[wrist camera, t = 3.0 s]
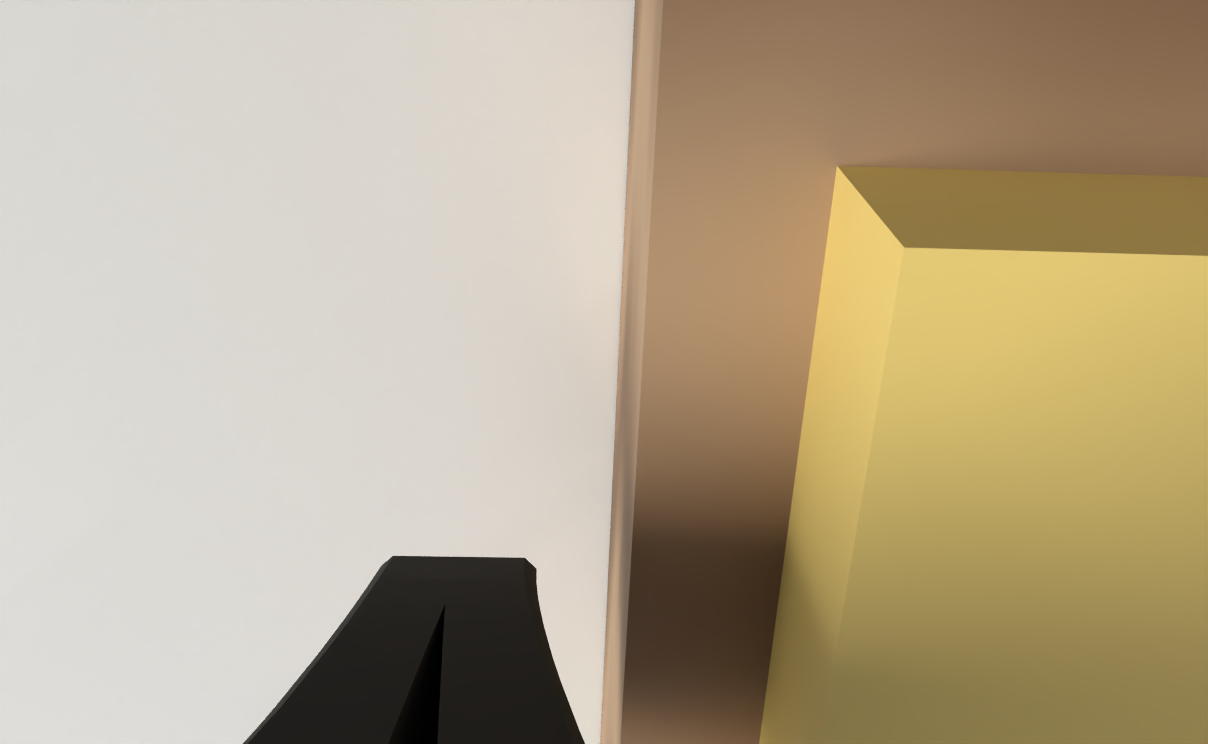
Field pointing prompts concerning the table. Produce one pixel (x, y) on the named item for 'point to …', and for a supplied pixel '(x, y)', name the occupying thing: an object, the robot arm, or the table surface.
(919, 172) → the flat yellow block
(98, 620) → the table surface
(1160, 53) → the brown wooden block
